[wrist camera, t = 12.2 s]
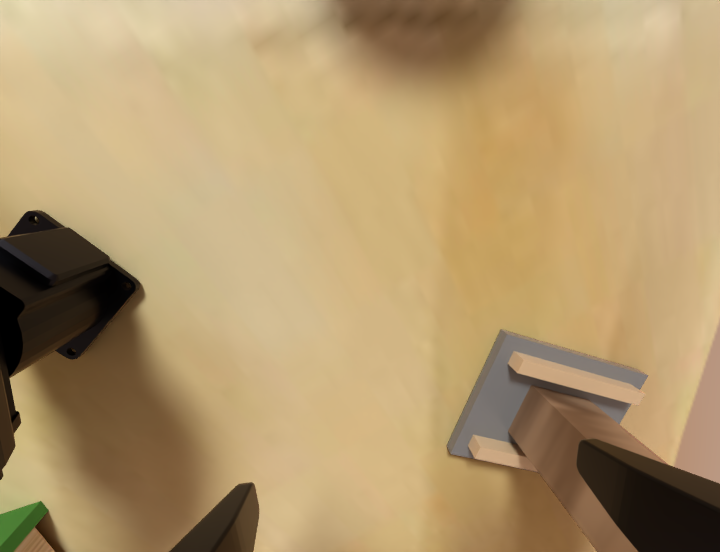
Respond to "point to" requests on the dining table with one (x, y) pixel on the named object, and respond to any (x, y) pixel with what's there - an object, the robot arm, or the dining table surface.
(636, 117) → the dining table surface
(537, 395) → the wooden block
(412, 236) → the dining table surface
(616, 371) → the grey stand base
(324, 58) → the dining table surface
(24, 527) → the hardback book
